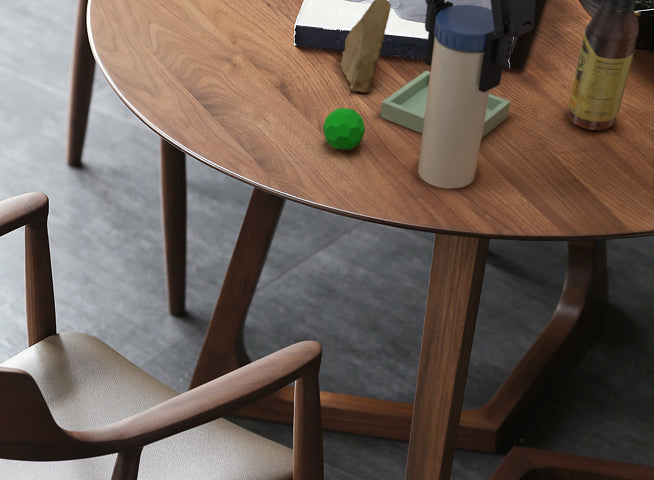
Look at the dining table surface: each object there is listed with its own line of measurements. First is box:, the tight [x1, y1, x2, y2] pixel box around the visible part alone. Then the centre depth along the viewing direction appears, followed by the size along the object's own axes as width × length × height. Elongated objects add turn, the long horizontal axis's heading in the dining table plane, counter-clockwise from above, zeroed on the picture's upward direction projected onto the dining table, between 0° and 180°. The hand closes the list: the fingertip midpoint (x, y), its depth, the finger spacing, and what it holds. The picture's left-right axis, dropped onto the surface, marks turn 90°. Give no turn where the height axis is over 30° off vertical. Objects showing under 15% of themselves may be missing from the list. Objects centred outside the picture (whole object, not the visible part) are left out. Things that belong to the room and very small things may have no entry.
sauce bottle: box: [568, 0, 640, 132], centre depth 130 cm, size 6×6×20 cm
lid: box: [434, 4, 494, 51], centre depth 115 cm, size 7×7×2 cm
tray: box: [379, 70, 512, 139], centre depth 136 cm, size 13×11×2 cm
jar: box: [417, 37, 491, 190], centre depth 121 cm, size 7×7×19 cm
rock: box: [339, 0, 392, 94], centre depth 142 cm, size 11×9×10 cm
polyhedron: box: [322, 107, 366, 151], centre depth 130 cm, size 5×5×5 cm
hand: (461, 73), depth 119 cm, fingers closed on lid, 7 cm apart
